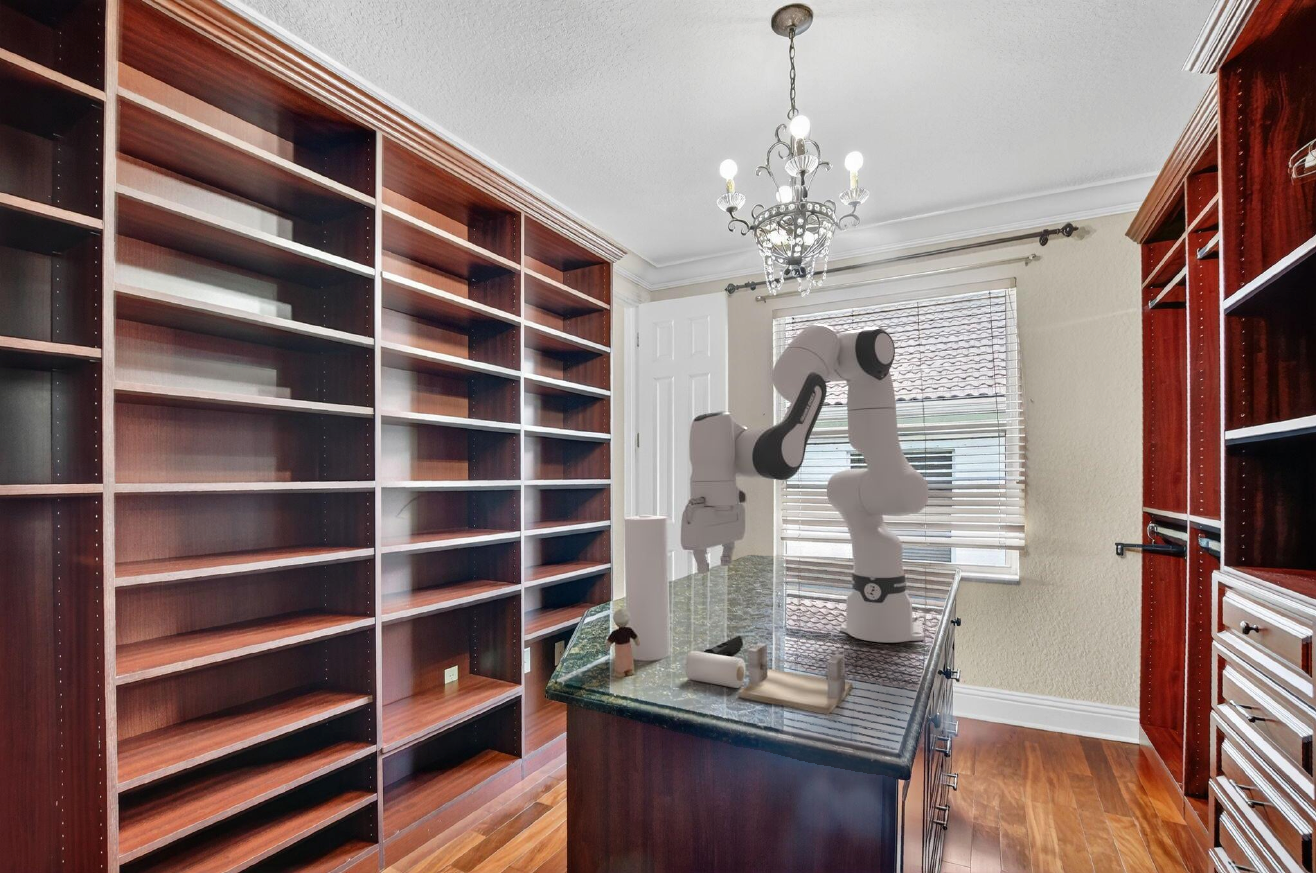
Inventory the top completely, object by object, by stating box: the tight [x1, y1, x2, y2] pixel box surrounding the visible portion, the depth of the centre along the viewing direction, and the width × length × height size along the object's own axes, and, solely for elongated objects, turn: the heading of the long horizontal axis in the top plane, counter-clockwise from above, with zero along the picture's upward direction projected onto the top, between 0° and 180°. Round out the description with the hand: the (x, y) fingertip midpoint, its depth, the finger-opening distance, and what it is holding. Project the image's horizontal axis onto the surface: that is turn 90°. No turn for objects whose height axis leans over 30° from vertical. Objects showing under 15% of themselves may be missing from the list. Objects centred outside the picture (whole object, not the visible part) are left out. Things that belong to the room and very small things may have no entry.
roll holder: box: [737, 642, 854, 715], centre depth 113 cm, size 14×16×7 cm
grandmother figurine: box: [604, 608, 640, 678], centre depth 125 cm, size 8×4×13 cm, turn 135°
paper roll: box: [684, 650, 746, 689], centre depth 119 cm, size 11×5×5 cm, turn 58°
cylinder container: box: [623, 514, 671, 662], centre depth 138 cm, size 9×9×30 cm
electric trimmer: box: [703, 635, 744, 656], centre depth 135 cm, size 4×16×3 cm, turn 145°
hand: (715, 568), depth 121 cm, fingers open, 8 cm apart
